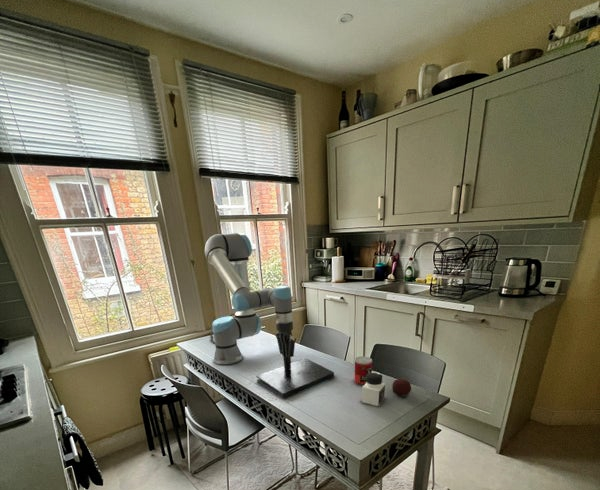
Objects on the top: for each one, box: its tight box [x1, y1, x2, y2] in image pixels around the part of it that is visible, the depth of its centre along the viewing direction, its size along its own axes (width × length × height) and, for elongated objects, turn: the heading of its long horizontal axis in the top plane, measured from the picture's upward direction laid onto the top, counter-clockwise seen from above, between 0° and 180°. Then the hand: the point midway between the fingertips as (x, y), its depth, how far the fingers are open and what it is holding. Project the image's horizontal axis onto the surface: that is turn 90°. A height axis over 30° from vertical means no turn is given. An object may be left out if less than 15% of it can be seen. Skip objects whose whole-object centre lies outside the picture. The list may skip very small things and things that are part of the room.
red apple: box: [391, 378, 412, 397], centre depth 131 cm, size 7×8×7 cm
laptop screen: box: [255, 357, 335, 395], centre depth 148 cm, size 21×30×1 cm
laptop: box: [256, 373, 335, 400], centre depth 149 cm, size 21×30×2 cm
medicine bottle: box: [361, 371, 386, 407], centre depth 126 cm, size 7×7×12 cm
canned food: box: [353, 356, 373, 386], centre depth 142 cm, size 8×8×11 cm
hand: (287, 368), depth 152 cm, fingers closed
